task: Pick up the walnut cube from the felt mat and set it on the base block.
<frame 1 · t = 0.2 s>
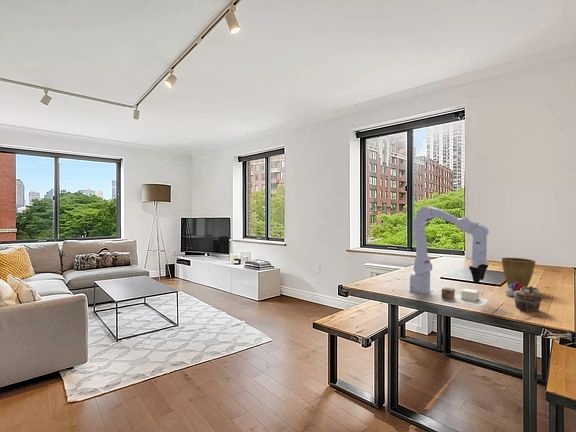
hand: (478, 280, 153), 10 cm above the table, fingers open, 7 cm apart
walnut cube: (448, 298, 158), resting on felt mat
multicoloured rounded cluster: (518, 297, 162), on the table
cupcake: (527, 309, 143), on the table
felt mat: (464, 299, 157), on the table
base block: (470, 298, 157), resting on felt mat
plant pot: (517, 289, 178), on the table
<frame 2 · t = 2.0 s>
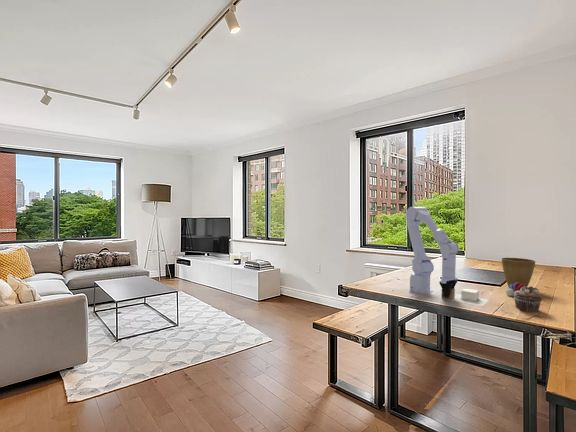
hand: (448, 295, 158), 1 cm above the table, fingers closed on walnut cube, 4 cm apart
walnut cube: (448, 298, 158), resting on felt mat, touching gripper
everything else where it was.
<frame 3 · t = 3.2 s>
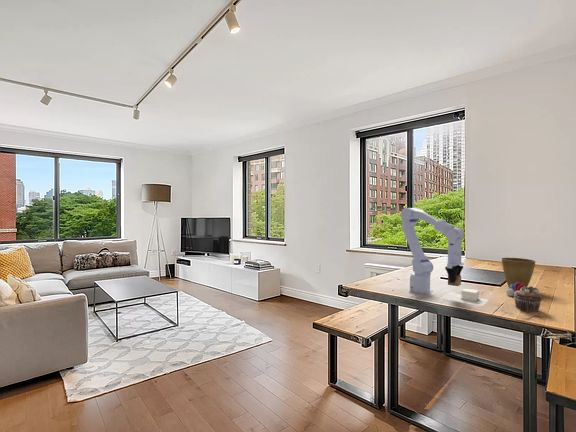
hand: (454, 281, 158), 8 cm above the table, fingers closed on walnut cube, 4 cm apart
walnut cube: (454, 284, 158), point 7 cm above the table, touching gripper
everything else where it was.
when the fingers open (7 cm above the table, at t = 4.3 s): walnut cube drops 1 cm, resting on base block.
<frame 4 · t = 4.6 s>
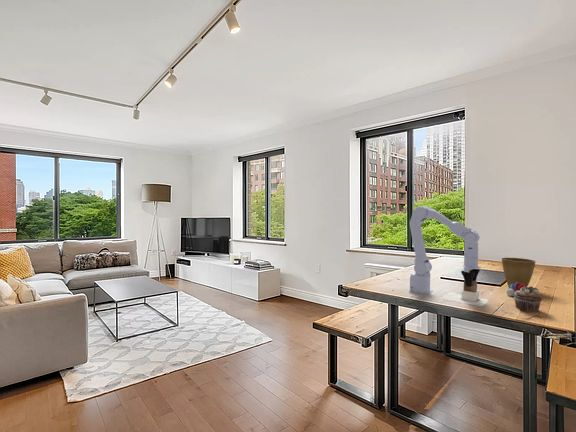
hand: (470, 285, 157), 7 cm above the table, fingers open, 6 cm apart
walnut cube: (470, 290, 157), point 4 cm above the table, touching base block
base block: (470, 298, 157), resting on felt mat, touching walnut cube
everything else where it was.
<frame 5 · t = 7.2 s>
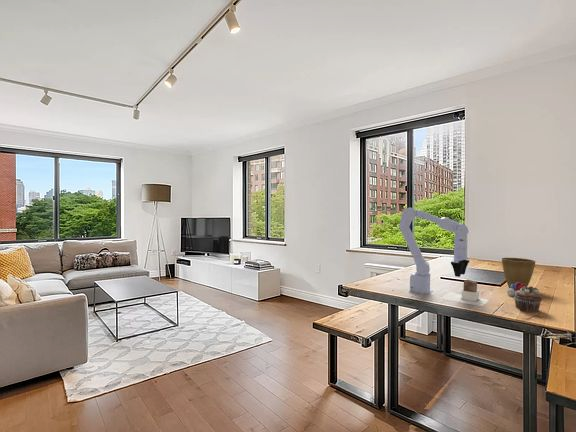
hand: (459, 275, 165), 10 cm above the table, fingers open, 7 cm apart
nothing on the table moved.
at the end: walnut cube 0.0 cm off-centre on the base block, point 4.0 cm above the base block's base; walnut cube tilted 0°; the gripper is holding nothing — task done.
